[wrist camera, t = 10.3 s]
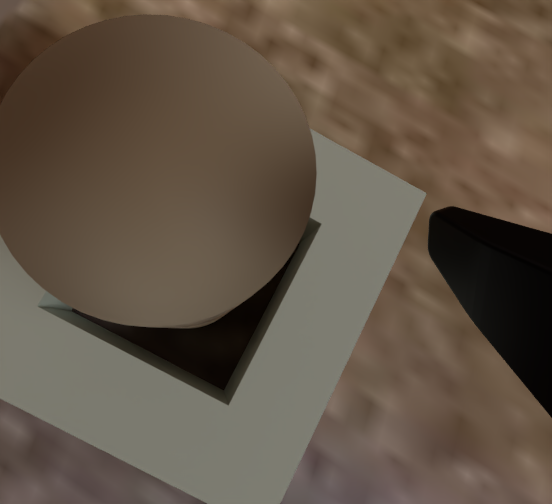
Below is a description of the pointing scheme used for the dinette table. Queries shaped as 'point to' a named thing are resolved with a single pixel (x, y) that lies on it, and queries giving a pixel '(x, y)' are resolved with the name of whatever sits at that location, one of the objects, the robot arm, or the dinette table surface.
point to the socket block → (250, 369)
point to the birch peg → (153, 171)
